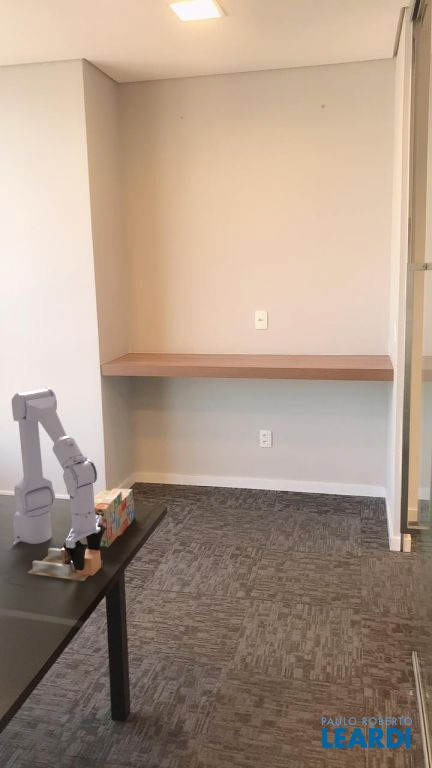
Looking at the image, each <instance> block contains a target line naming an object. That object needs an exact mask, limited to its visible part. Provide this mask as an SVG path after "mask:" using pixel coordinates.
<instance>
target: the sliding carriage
mask: <svg viewBox="0 0 432 768" xmlns="http://www.w3.org/2000/svg"><path fill="white" fill-rule="evenodd" d="M60 549H61V554H62V564H66V565H70V566H71V572H76V571H77V570H75V568H74V565H73V562H72V560H71V558H70V556H69V554H68V553H67V551H66V550H65V549H64V547H62V548H60Z"/></svg>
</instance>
